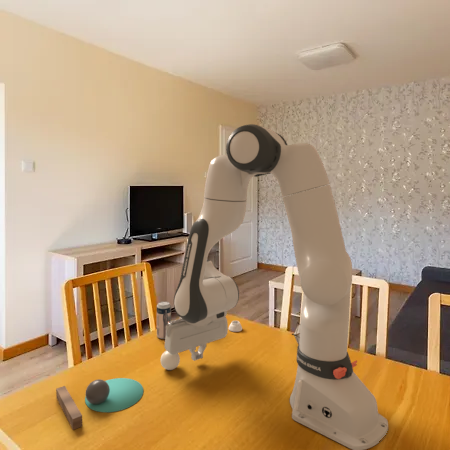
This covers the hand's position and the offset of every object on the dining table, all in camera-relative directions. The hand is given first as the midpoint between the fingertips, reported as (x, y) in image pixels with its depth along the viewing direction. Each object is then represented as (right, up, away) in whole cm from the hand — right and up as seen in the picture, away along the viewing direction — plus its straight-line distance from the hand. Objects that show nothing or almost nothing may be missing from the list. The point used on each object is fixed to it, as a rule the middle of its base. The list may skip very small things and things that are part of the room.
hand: (197, 358), depth 104 cm
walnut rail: (-28, -4, -22) cm, 36 cm away
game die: (+35, -1, +13) cm, 37 cm away
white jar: (+12, +1, +25) cm, 28 cm away
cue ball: (-7, +1, -3) cm, 8 cm away
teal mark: (-20, -3, -15) cm, 25 cm away
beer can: (-13, +1, +18) cm, 22 cm away
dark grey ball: (-22, -1, -19) cm, 30 cm away
